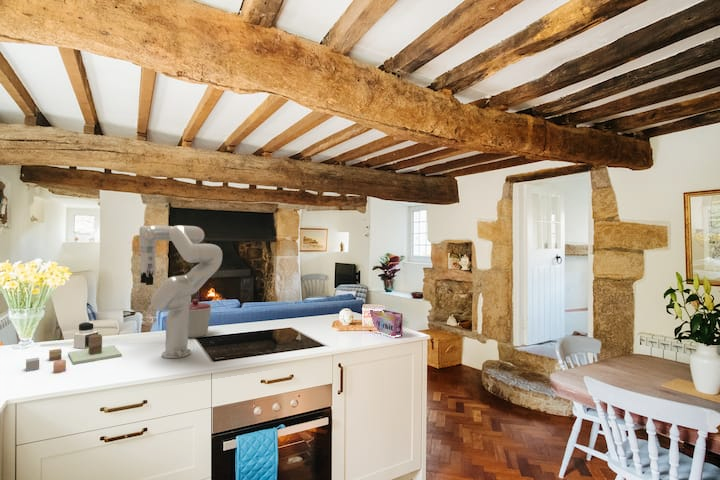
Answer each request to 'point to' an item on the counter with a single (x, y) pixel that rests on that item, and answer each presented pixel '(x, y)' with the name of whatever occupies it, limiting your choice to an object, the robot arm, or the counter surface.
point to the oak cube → (55, 354)
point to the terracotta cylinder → (59, 366)
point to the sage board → (85, 357)
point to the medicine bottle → (84, 335)
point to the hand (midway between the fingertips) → (146, 283)
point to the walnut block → (95, 344)
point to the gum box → (387, 322)
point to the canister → (198, 319)
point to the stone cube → (32, 364)
